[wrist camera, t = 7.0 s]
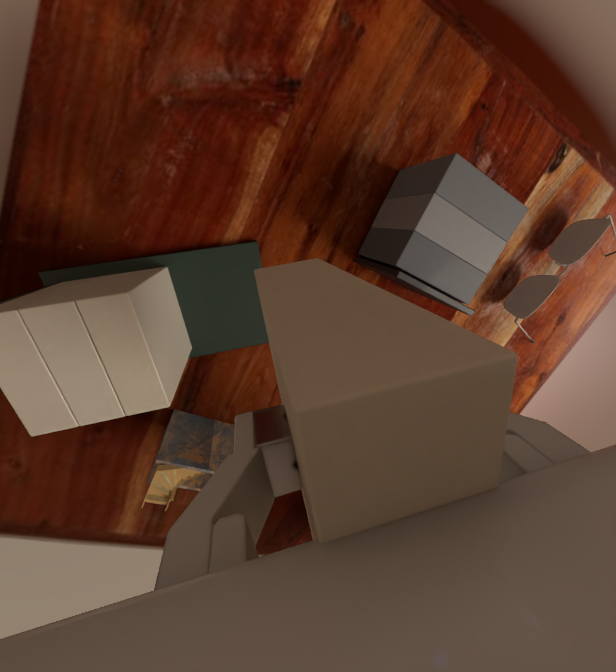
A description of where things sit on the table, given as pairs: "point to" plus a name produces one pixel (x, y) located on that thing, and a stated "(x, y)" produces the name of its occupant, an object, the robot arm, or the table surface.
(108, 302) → the blocks on green base
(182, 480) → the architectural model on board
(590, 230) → the eyeglasses
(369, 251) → the grey book row
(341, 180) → the table surface
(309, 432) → the beige rectangular block
